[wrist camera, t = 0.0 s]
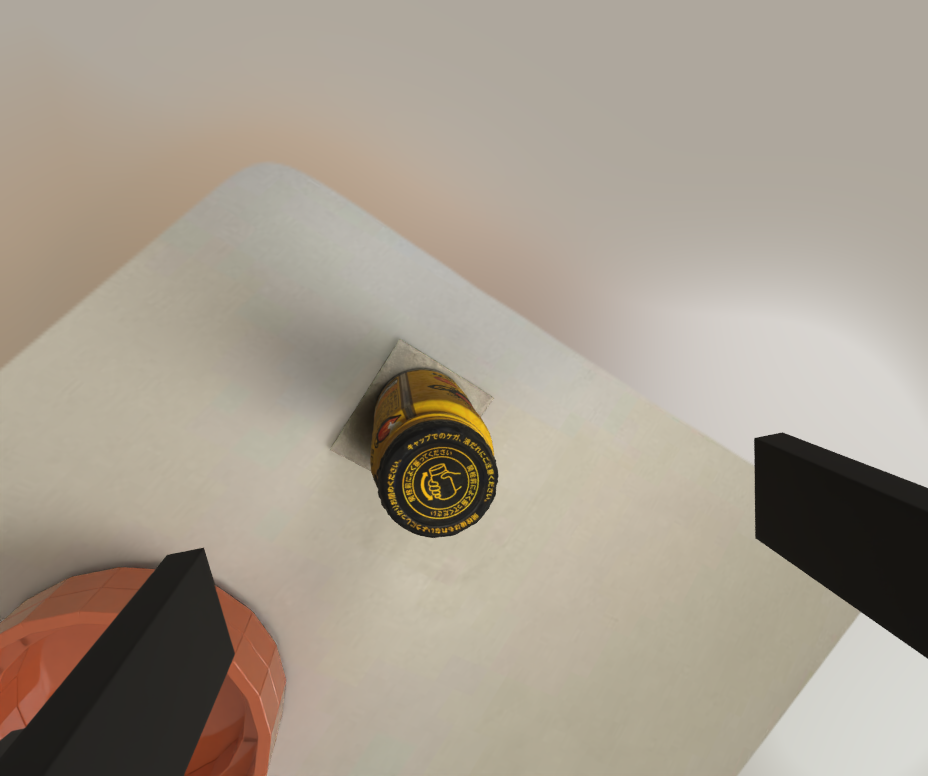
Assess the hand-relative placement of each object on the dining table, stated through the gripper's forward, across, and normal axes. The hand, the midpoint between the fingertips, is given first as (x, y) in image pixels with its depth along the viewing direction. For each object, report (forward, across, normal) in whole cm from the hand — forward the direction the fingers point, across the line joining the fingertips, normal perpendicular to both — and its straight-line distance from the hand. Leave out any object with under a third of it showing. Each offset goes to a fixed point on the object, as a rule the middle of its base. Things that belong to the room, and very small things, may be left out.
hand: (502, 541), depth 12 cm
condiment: (+21, -2, -3) cm, 22 cm away
